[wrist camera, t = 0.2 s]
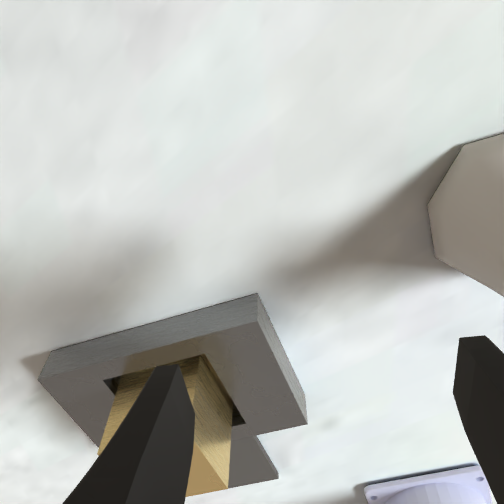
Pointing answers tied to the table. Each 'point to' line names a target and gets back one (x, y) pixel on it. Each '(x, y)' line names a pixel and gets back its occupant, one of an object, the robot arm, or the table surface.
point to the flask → (472, 213)
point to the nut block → (206, 420)
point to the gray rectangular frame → (181, 347)
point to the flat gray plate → (249, 463)
